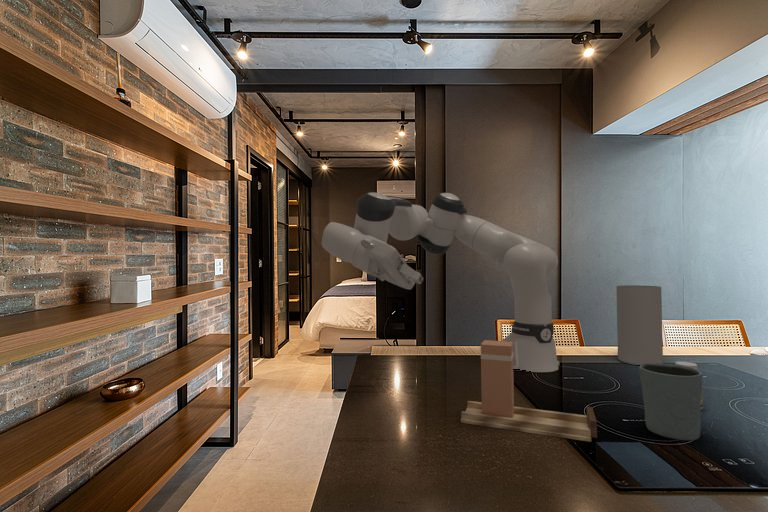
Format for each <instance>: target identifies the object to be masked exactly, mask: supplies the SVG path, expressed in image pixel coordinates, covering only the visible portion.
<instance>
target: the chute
mask: <svg viewBox="0 0 768 512" xmlns="http://www.w3.org/2000/svg"><path fill="white" fill-rule="evenodd" d="M466 404H467V405H466V406H467V407H466V409H465V411H464V410H462V411H461V412H460V417H461V418H460V423H461V424H468V425H469V424H470V425H475V426H481V427H488V428H495V429H503V430H510V431H515V432H523V433H528V434H536V435H541V436H542V435H543V436H549V437H554V438H555V437H557V438H563V439H570V440H575V441H576V440H577V441H582V442H583V441H584V442H589V443H590V442H592V438H593V439H597V438H598V421H597V418H596V416H595V412H594V408H593V407H592V406H586V415H584V414H579V413H578V414H577V413H569V412H561V411H554V410H547V409H546V410H545V409H544V410H543V409H538V408H530V407H529V408H528V407H521V406H514V415H513V418H509V417H502V416H494V415H487V414H482V401H480V402H479V401H474V400H473V401H472V400H467V403H466Z"/></svg>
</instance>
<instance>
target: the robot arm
mask: <svg viewBox="0 0 768 512" xmlns="http://www.w3.org/2000/svg"><path fill="white" fill-rule="evenodd" d="M356 203H357V204H356V211H355V212H356V215H355V220H354V225H353V227H352V226H349V225H347V224H346V225H345V224H343V223H340V222H337V221H335V222H334V221H331V222H329V223H328V224H327V225H326V226H325V228H324V230H323V232H322V236H321V246H322V248H323V249H324V250H325V251H326V252H327V253H328V254H330V255H332V256H333V257H335V258H337V259H339V260H341V262H345V263H350V264H351V265H352V266H353V267H354V268H356V269H359V270H360V271H362V272H364V273H366V274H367V275H370V276H372V277H374V278H376V279H377V280H379V281H381V282H384V281H387V282H388V283H390V284H392V285H395V286H398V287H400V288H402V289H405V290H412V289H413V288H414V286H415V285H416V283H417V285H421V284H422V283H423V282H424V277H423V276H422V274H421V273H420V272H419V271H417V270H415V269H413V268H412V267H410V266H409V265H408V264H407V263H406V262H405V260H404V258H403V256H402V255H401V254H400V253H399V252H398V250H397V249H396V248H395V247H394V246H393V245H390V244H388V242H387V241H388V238H389V236H391V237H392V238H393V239H396V240H397V241H408V240H411V239H413V238H415V237H416V239H417V241H418V242H419V243H420V245H421V247H422V248H423V250H425V251H426V252H428V253H431V254H433V255H443V254H446V253H447V252H448V250H449V249H450V247H451V244H452V241H453V239H454V237H456V239H458V241H460V242H461V243H462V244H463V245H465V246H467V247H468V248H470V249H472V250H473V251H475V252H477V253H478V254H480V255H483V256H485V257H486V258H488V259H490V260H492V261H494V262H497V263H499V264H503V265H504V266H503V267H504V269H505V270H506V271H507V273H508V275H509V279H510V284H511V288H512V292H513V298H514V321H512V322H511V324H510V325H509V326H510V327H511V333H509V334H508V335H507V336H505V338H503V339H502V340H501V341H506V342H513V369H520V370H519V371H522V370H526V371H525V372H529V371H531V372H530V373H553V372H556V371H558V370H559V369H560V368H559V366H560V361H559V360H558V356H557V348H556V346H557V345H556V340H555V339H554V336H553V335H554V334H555V333H554V332H555V325H554V323H553V318H552V317H553V314H552V313H553V312H552V311H553V309H552V307H553V305H552V300H553V299H552V296H551V294H550V292H549V289H548V283H547V279H546V277H548V276H550V275H551V274H553V273H554V271H556V270H557V268H558V264H559V259H558V254H557V253H556V252H555V251H554V250H553V249H552V248H551V247H548V246H547V245H544V244H543V243H539V242H538V241H535V240H533V239H530V238H528V237H525V236H522V235H520V234H517V233H515V232H512V231H510V230H507V229H505V228H503V227H501V226H499V225H497V224H495V223H492V222H490V221H488V220H486V219H483V218H482V217H477V216H473V215H470V214H467V213H468V210H467V208H466V207H465V204H464V202H463V201H462V199H461V198H460V197H458V196H457V195H455V194H453V193H450V192H439V193H437V194H436V195H434V197H433V200H432V201H431V205H430V208H429V211H427V210H426V209H425V208H424V207H423V206H422V205H419V204H413V203H412V202H411V201H410V200H407V199H405V198H402V197H399V196H395V195H394V196H393V195H385V194H383V193H379V192H374V191H371V192H366V193H365V194H363V195H362V196H360V197H359V198H358V199H357V202H356Z"/></svg>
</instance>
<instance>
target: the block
mask: <svg viewBox="0 0 768 512" xmlns="http://www.w3.org/2000/svg"><path fill="white" fill-rule="evenodd" d="M480 373H481V374H480V376H481V377H480V380H481V381H480V382H481V383H480V384H481V385H480V388H481V390H480V391H481V392H480V393H481V402H482V414H487V415H494V416H502V417H509V418H513V415H514V407H515V396H514V395H515V390H514V389H515V388H514V387H515V385H514V383H515V382H514V370H513V342H506V341H502V340H490V339H484V340H483V341H482V342H481V343H480Z"/></svg>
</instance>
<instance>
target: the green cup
mask: <svg viewBox="0 0 768 512" xmlns="http://www.w3.org/2000/svg"><path fill="white" fill-rule="evenodd" d="M638 370H639V378H640V383H641V390H642V401H643V408H644V421H645V426H646V428H647V430H649V431H650V432H651V433H654V434H656V435H659V436H662V437H664V438H669V439H673V440H679V441H695V440H698V439H699V438H700V437H701V431H702V430H701V429H702V428H701V425H702V424H701V423H702V422H701V411H702V410H701V405H700V403H701V395H702V396H703V372H702V371H700V370H699V369H698V370H697V369H694V368H690V367H685V366H680V365H675V364H671V363H663V364H661V363H647V364H641V365H640V366H638Z"/></svg>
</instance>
